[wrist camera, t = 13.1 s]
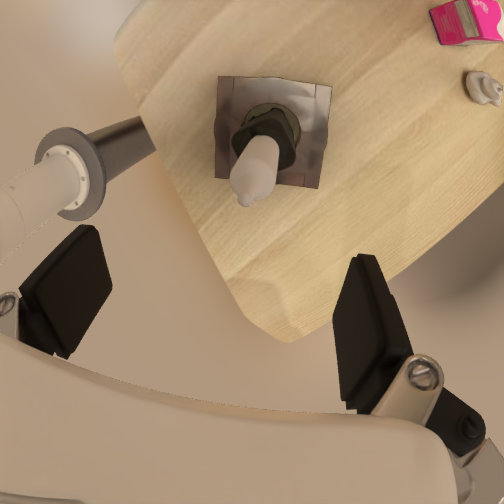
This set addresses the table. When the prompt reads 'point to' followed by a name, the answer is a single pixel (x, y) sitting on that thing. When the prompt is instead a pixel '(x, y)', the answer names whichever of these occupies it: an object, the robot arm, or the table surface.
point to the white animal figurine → (484, 88)
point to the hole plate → (284, 93)
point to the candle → (261, 155)
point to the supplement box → (469, 22)
